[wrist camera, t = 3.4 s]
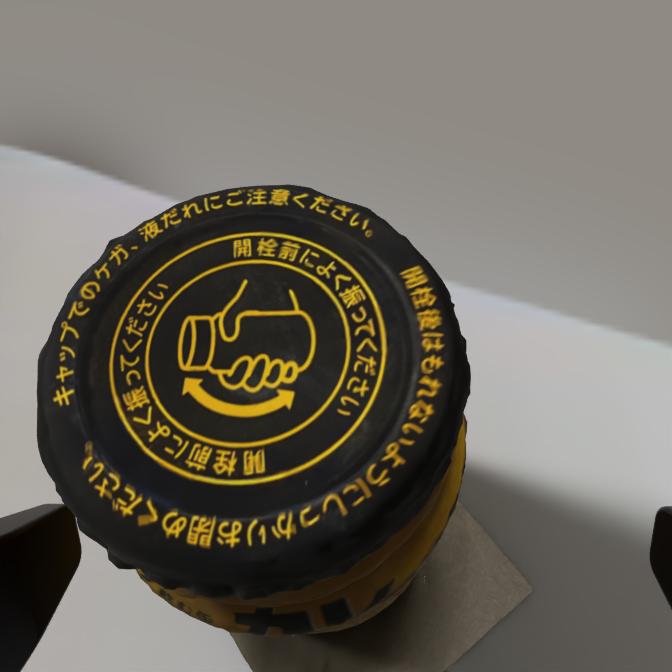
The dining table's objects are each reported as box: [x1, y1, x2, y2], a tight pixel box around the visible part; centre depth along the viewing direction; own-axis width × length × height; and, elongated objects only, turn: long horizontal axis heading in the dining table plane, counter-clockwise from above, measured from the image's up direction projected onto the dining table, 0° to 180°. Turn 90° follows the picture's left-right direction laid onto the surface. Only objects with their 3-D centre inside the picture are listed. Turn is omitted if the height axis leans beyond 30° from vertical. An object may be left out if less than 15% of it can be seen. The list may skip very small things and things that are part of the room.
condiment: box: [37, 185, 534, 672], centre depth 12 cm, size 7×8×12 cm
